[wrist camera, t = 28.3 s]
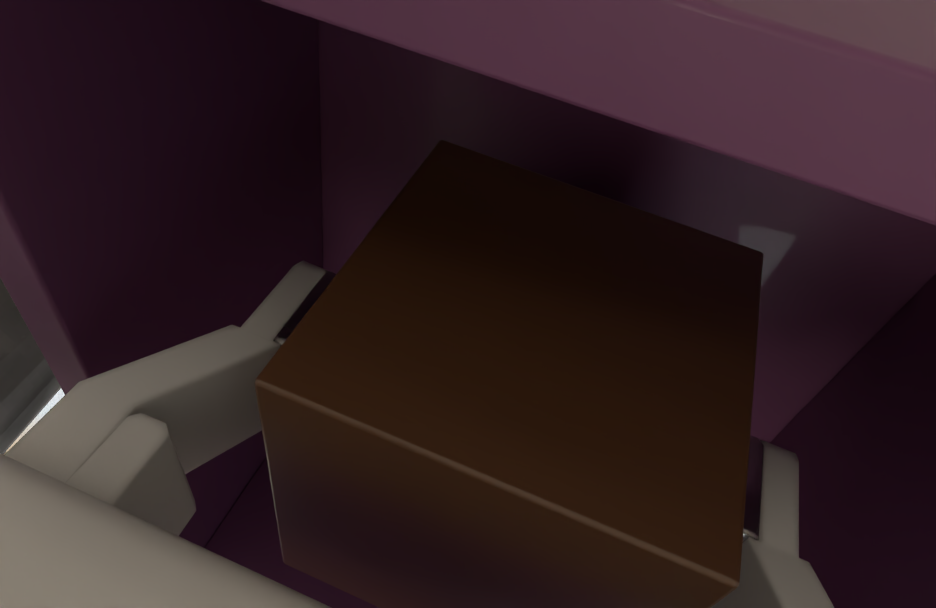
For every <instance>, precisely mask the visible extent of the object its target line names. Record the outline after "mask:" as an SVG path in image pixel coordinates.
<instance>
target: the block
mask: <svg viewBox="0 0 936 608" xmlns="http://www.w3.org/2000/svg"><path fill="white" fill-rule="evenodd" d="M762 267H763V253H762V252H760V251H757V250H755V249H752V248H749V247H746V246H743V245H740V244H738V243H735V242H732V241H729V240H726V239H723V238H721V237H718V236H715V235H712V234H709V233H706V232H703V231H701V230H698V229H695V228H692V227H689V226H686V225H684V224H681V223H678V222H675V221H672V220H669V219H667V218H664V217H661V216H658V215H655V214H652V213H649V212H647V211H644V210H641V209H638V208H635V207H632V206H630V205H627V204H624V203H621V202H618V201H615V200H612V199H610V198H607V197H604V196H601V195H598V194H595V193H593V192H590V191H587V190H584V189H581V188H578V187H576V186H573V185H570V184H567V183H564V182H561V181H558V180H556V179H553V178H550V177H547V176H544V175H541V174H539V173H536V172H533V171H530V170H527V169H524V168H522V167H519V166H516V165H513V164H510V163H507V162H504V161H502V160H499V159H496V158H493V157H490V156H487V155H485V154H482V153H479V152H476V151H473V150H470V149H467V148H465V147H462V146H459V145H456V144H453V143H450V142H448V141H445V140H440V141H439V142H438V143H437V145H436V146H435V147H434V149H433V150H432V151H431V153H430V154H429V155H428V156H427V158H426V159H425V160H424V162H423V163H422V164H421V165H420V167H419V168H418V169H417V171H416V172H415V173H414V175H413V176H412V177H411V178H410V180H409V181H408V182H407V184H406V185H405V186H404V187H403V189H402V190H401V191H400V193H399V194H398V195H397V197H396V198H395V199H394V200H393V202H392V203H391V204H390V206H389V207H388V208H387V210H386V211H385V212H384V213H383V215H382V216H381V217H380V219H379V220H378V221H377V222H376V224H375V225H374V226H373V228H372V229H371V230H370V232H369V233H368V234H367V235H366V237H365V238H364V239H363V241H362V242H361V243H360V244H359V246H358V247H357V248H356V250H355V251H354V252H353V254H352V255H351V256H350V257H349V259H348V260H347V261H346V263H345V264H344V265H343V266H342V268H341V269H340V270H339V272H338V273H337V274H336V276H335V277H334V278H333V279H332V281H331V282H330V283H329V285H328V286H327V287H326V289H325V290H324V291H323V292H322V294H321V295H320V296H319V298H318V299H317V300H316V301H315V303H314V304H313V305H312V307H311V308H310V309H309V311H308V312H307V313H306V314H305V316H304V317H303V318H302V320H301V321H300V322H299V323H298V325H297V326H296V327H295V329H294V330H293V331H292V333H291V334H290V335H289V336H288V338H287V339H286V340H285V342H284V343H283V344H282V346H281V347H280V348H279V349H278V351H277V352H276V353H275V355H274V356H273V357H272V358H271V360H270V361H269V362H268V364H267V365H266V366H265V368H264V369H263V370H262V371H261V373H260V374H259V375H258V377H257V378H256V379H255V383H254V384H255V390H256V397H257V403H258V409H259V415H260V421H261V427H262V434H263V440H264V446H265V452H266V458H267V465H268V471H269V477H270V483H271V489H272V495H273V502H274V508H275V514H276V520H277V526H278V533H279V539H280V545H281V551H282V557H283V562H284V563H285V564H286V565H288V566H290V567H293V568H295V569H297V570H299V571H301V572H303V573H306V574H308V575H310V576H312V577H314V578H316V579H319V580H321V581H323V582H325V583H327V584H329V585H332V586H334V587H336V588H338V589H340V590H342V591H345V592H347V593H349V594H351V595H353V596H355V597H357V598H360V599H362V600H364V601H366V602H368V603H370V604H373V605H375V606H377V607H379V608H711V607H712V606H714V605H715V604H716V603H718V602H719V601H720V600H722V599H723V598H724V597H726V596H727V595H728V594H730V593H731V592H732V591H734V590H735V589H737V587H738V586H739V583H740V570H741V556H742V542H743V529H744V515H745V501H746V487H747V473H748V460H749V446H750V432H751V418H752V404H753V391H754V377H755V363H756V349H757V335H758V322H759V308H760V294H761V280H762Z"/></svg>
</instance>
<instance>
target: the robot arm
mask: <svg viewBox="0 0 936 608" xmlns="http://www.w3.org/2000/svg"><path fill="white" fill-rule="evenodd" d="M335 276H336V274H335V273H333V272H330V271H328V270H325V269H323V268H321V267H318V266H316V265H313V264H311V263H308V262H306V261H301V262H299V263H297V264H296V265H294V266H293V267H292V268H291V269H290V270H289V271H288V273H287V274H286V275H285V276H284V277H283V278H282V280H281V281H280V282H279V283H278V284H277V285H276V287H275V288H274V289H273V290H272V291H271V292H270V294H269V295H268V296H267V297H266V298H265V299H264V301H263V302H262V303H261V304H260V305H259V306H258V308H257V309H256V310H255V311H254V312H253V313H252V315H251V316H250V317H249V318H248V319H247V320H246V321H245V323H244V324H243V325H242V326H241V327H237V326H235V325H229V326H227V327H224V328H221V329H219V330H216V331H213V332H211V333H208V334H205V335H203V336H200V337H197V338H195V339H192V340H189V341H187V342H184V343H181V344H179V345H176V346H173V347H171V348H168V349H165V350H163V351H160V352H157V353H155V354H152V355H149V356H147V357H144V358H141V359H139V360H136V361H133V362H131V363H128V364H125V365H123V366H120V367H117V368H115V369H112V370H109V371H107V372H104V373H101V374H99V375H96V376H93V377H91V378H88V379H85V380H82V381H80V382H78V383H77V384H76V385H75V386H74V387H73V388H72V389H71V390H70V391H69V392H68V393H67V394H66V395H65V396H64V397H63V398H62V399H61V400H60V401H59V402H58V403H57V404H56V405H55V406H54V407H53V408H52V409H51V410H50V411H49V412H48V413H47V414H46V415H45V416H44V417H43V418H42V419H41V420H39V421H38V422H37V423H36V424H35V425H34V426H33V427H32V428H31V429H30V430H29V431H28V432H27V433H26V434H25V435H24V436H23V437H22V438H21V439H20V440H19V441H18V442H17V443H16V444H15V445H14V446H13V447H12V448H11V449H10V450H9V451H8V452H7V453H6V454H5V455H3V454H1V453H0V608H332V607H329V606H327V605H325V604H323V603H321V602H319V601H317V600H314V599H312V598H310V597H308V596H306V595H304V594H301V593H299V592H297V591H295V590H293V589H291V588H289V587H286V586H284V585H282V584H280V583H278V582H276V581H274V580H271V579H269V578H267V577H265V576H263V575H261V574H259V573H256V572H254V571H252V570H250V569H248V568H246V567H244V566H241V565H239V564H237V563H235V562H233V561H231V560H229V559H226V558H224V557H222V556H220V555H218V554H216V553H214V552H211V551H209V550H207V549H205V548H203V547H201V546H199V545H196V544H194V543H192V542H190V541H188V540H186V539H184V538H181V537H179V535H180V533H181V532H182V530H183V529H184V528H185V526H186V525H187V523H188V522H189V520H190V519H191V518H192V516H193V515H194V513H195V512H196V504H195V499H194V497H193V494H192V491H191V489H190V486H189V483H188V481H187V478H186V475H185V474H187V473H188V472H190V471H192V470H194V469H195V468H197V467H199V466H201V465H202V464H204V463H206V462H208V461H209V460H211V459H213V458H215V457H216V456H218V455H220V454H222V453H223V452H225V451H227V450H229V449H230V448H232V447H234V446H235V445H237V444H239V443H241V442H242V441H244V440H246V439H248V438H249V437H251V436H253V435H255V434H256V433H258V432H260V431H262V427H261V421H260V415H259V409H258V403H257V397H256V390H255V384H254V383H255V379H256V378H257V377H258V375H259V374H260V373H261V371H262V370H263V369H264V368H265V366H266V365H267V364H268V362H269V361H270V360H271V358H272V357H273V356H274V355H275V353H276V352H277V351H278V349H279V348H280V347H281V346H282V344H283V343H284V342H285V340H286V339H287V338H288V336H289V335H290V334H291V333H292V331H293V330H294V329H295V327H296V326H297V325H298V323H299V322H300V321H301V320H302V318H303V317H304V316H305V314H306V313H307V312H308V311H309V309H310V308H311V307H312V305H313V304H314V303H315V301H316V300H317V299H318V298H319V296H320V295H321V294H322V292H323V291H324V290H325V289H326V287H327V286H328V285H329V283H330V282H331V281H332V279H333V278H334V277H335ZM711 608H834V606H833V604H832V602H831V600H830V599H829V597H828V595H827V593H826V591H825V590H824V588H823V586H822V584H821V582H820V581H819V579H818V577H817V575H816V573H815V571H814V570H813V568H812V566H811V564H810V562H808V561H805V560H803V559H801V558H799V460H798V458H797V455H796V453H793V452H791V451H788V450H786V449H783V448H781V447H778V446H776V445H773V444H770V443H768V442H765V441H763V440H759V439H758V438H757V437H754V436H751V435H750V446H749V460H748V473H747V487H746V501H745V515H744V529H743V542H742V556H741V570H740V583H739V586H738V587H737V589H735V590H734V591H732V592H731V593H730V594H728V595H727V596H726V597H724V598H723V599H722V600H720V601H719V602H718V603H716V604H715V605H714V606H712V607H711Z"/></svg>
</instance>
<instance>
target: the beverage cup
mask: <svg viewBox="0 0 936 608" xmlns="http://www.w3.org/2000/svg"><path fill="white" fill-rule="evenodd" d="M60 388H61V386H60V385H59V383H58V381H57V379H56V377H55V375H54V374H53V372H52V370H51V368H50V366H49V365H48V363H47V361H46V359H45V357H44V356H43V354H42V352H41V350H40V348H39V347H38V345H37V343H36V341H35V339H34V338H33V336H32V334H31V332H30V330H29V329H28V327H27V325H26V323H25V321H24V320H23V318H22V316H21V314H20V312H19V310H18V309H17V307H16V305H15V303H14V301H13V300H12V298H11V296H10V294H9V292H8V291H7V289H6V287H5V285H4V283H3V282H2V280H1V278H0V453H1V454H4V453H5V452H6V450H7V449H8V448H9V447H10V446H11V445H12V443H13V442H14V441H15V440H16V439H17V438H18V437H19V435H20V434H21V433H22V432H23V431H24V430H25V429H26V427H27V426H28V425H29V424H30V423H31V422H32V421H33V419H34V418H35V417H36V416H37V415H38V414H39V412H40V411H41V410H42V409H43V408H44V407H45V406H46V404H47V403H48V402H49V401H50V400H51V399H52V398H53V396H54V395H55V394H56V393H57V392H58V391H59V390H60Z"/></svg>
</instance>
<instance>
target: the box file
mask: <svg viewBox="0 0 936 608" xmlns="http://www.w3.org/2000/svg"><path fill="white" fill-rule="evenodd" d="M440 140H445V141H448V142H450V143H453V144H456V145H459V146H462V147H465V148H467V149H470V150H473V151H476V152H479V153H482V154H485V155H487V156H490V157H493V158H496V159H499V160H502V161H504V162H507V163H510V164H513V165H516V166H519V167H522V168H524V169H527V170H530V171H533V172H536V173H539V174H541V175H544V176H547V177H550V178H553V179H556V180H558V181H561V182H564V183H567V184H570V185H573V186H576V187H578V188H581V189H584V190H587V191H590V192H593V193H595V194H598V195H601V196H604V197H607V198H610V199H612V200H615V201H618V202H621V203H624V204H627V205H630V206H632V207H635V208H638V209H641V210H644V211H647V212H649V213H652V214H655V215H658V216H661V217H664V218H667V219H669V220H672V221H675V222H678V223H681V224H684V225H686V226H689V227H692V228H695V229H698V230H701V231H703V232H706V233H709V234H712V235H715V236H718V237H721V238H723V239H726V240H729V241H732V242H735V243H738V244H740V245H743V246H746V247H749V248H752V249H755V250H757V251H760V252H762V253H763V267H762V280H761V294H760V308H759V322H758V335H757V349H756V363H755V377H754V391H753V404H752V418H751V432H750V435H751V436H754V437H757V438H758V439H759V440H763V441H765V442H768V443H770V444H773V445H776V446H778V447H781V448H783V449H786V450H788V451H791V452H793V453H796V455H797V458H798V460H799V558H801V559H803V560H805V561H808V562H810V564H811V566H812V568H813V570H814V571H815V573H816V575H817V577H818V579H819V581H820V582H821V584H822V586H823V588H824V590H825V591H826V593H827V595H828V597H829V599H830V600H831V602H832V604H833V606H834V608H936V0H0V278H1V280H2V282H3V283H4V285H5V287H6V289H7V291H8V292H9V294H10V296H11V298H12V300H13V301H14V303H15V305H16V307H17V309H18V310H19V312H20V314H21V316H22V318H23V320H24V321H25V323H26V325H27V327H28V329H29V330H30V332H31V334H32V336H33V338H34V339H35V341H36V343H37V345H38V347H39V348H40V350H41V352H42V354H43V356H44V357H45V359H46V361H47V363H48V365H49V366H50V368H51V370H52V372H53V374H54V375H55V377H56V379H57V381H58V383H59V385H60V386H61V388H62V390H63V392H64V394H65V395H66V394H67V393H68V392H69V391H70V390H71V389H72V388H73V387H74V386H75V385H76V384H77V383H78V382H80V381H82V380H85V379H88V378H91V377H93V376H96V375H99V374H101V373H104V372H107V371H109V370H112V369H115V368H117V367H120V366H123V365H125V364H128V363H131V362H133V361H136V360H139V359H141V358H144V357H147V356H149V355H152V354H155V353H157V352H160V351H163V350H165V349H168V348H171V347H173V346H176V345H179V344H181V343H184V342H187V341H189V340H192V339H195V338H197V337H200V336H203V335H205V334H208V333H211V332H213V331H216V330H219V329H221V328H224V327H227V326H229V325H235V326H237V327H241V326H242V325H243V324H244V323H245V321H246V320H247V319H248V318H249V317H250V316H251V315H252V313H253V312H254V311H255V310H256V309H257V308H258V306H259V305H260V304H261V303H262V302H263V301H264V299H265V298H266V297H267V296H268V295H269V294H270V292H271V291H272V290H273V289H274V288H275V287H276V285H277V284H278V283H279V282H280V281H281V280H282V278H283V277H284V276H285V275H286V274H287V273H288V271H289V270H290V269H291V268H292V267H293V266H294V265H296V264H297V263H299V262H301V261H306V262H308V263H311V264H313V265H316V266H318V267H321V268H323V269H325V270H328V271H330V272H333V273H335V274H337V273H338V272H339V270H340V269H341V268H342V266H343V265H344V264H345V263H346V261H347V260H348V259H349V257H350V256H351V255H352V254H353V252H354V251H355V250H356V248H357V247H358V246H359V244H360V243H361V242H362V241H363V239H364V238H365V237H366V235H367V234H368V233H369V232H370V230H371V229H372V228H373V226H374V225H375V224H376V222H377V221H378V220H379V219H380V217H381V216H382V215H383V213H384V212H385V211H386V210H387V208H388V207H389V206H390V204H391V203H392V202H393V200H394V199H395V198H396V197H397V195H398V194H399V193H400V191H401V190H402V189H403V187H404V186H405V185H406V184H407V182H408V181H409V180H410V178H411V177H412V176H413V175H414V173H415V172H416V171H417V169H418V168H419V167H420V165H421V164H422V163H423V162H424V160H425V159H426V158H427V156H428V155H429V154H430V153H431V151H432V150H433V149H434V147H435V146H436V145H437V143H438V142H439V141H440ZM185 475H186V478H187V481H188V483H189V486H190V489H191V491H192V494H193V497H194V499H195V504H196V512H195V513H194V515H193V516H192V518H191V519H190V520H189V522H188V523H187V525H186V526H185V528H184V529H183V530H182V532H181V533H180V535H179V537H181V538H184V539H186V540H188V541H190V542H192V543H194V544H196V545H199V546H201V547H203V548H205V549H207V550H209V551H211V552H214V553H216V554H218V555H220V556H222V557H224V558H226V559H229V560H231V561H233V562H235V563H237V564H239V565H241V566H244V567H246V568H248V569H250V570H252V571H254V572H256V573H259V574H261V575H263V576H265V577H267V578H269V579H271V580H274V581H276V582H278V583H280V584H282V585H284V586H286V587H289V588H291V589H293V590H295V591H297V592H299V593H301V594H304V595H306V596H308V597H310V598H312V599H314V600H317V601H319V602H321V603H323V604H325V605H327V606H329V607H332V608H379V607H377V606H375V605H373V604H370V603H368V602H366V601H364V600H362V599H360V598H357V597H355V596H353V595H351V594H349V593H347V592H345V591H342V590H340V589H338V588H336V587H334V586H332V585H329V584H327V583H325V582H323V581H321V580H319V579H316V578H314V577H312V576H310V575H308V574H306V573H303V572H301V571H299V570H297V569H295V568H293V567H290V566H288V565H286V564H285V563H284V562H283V557H282V551H281V545H280V539H279V533H278V526H277V520H276V514H275V508H274V502H273V495H272V489H271V483H270V477H269V471H268V465H267V458H266V452H265V446H264V440H263V434H262V431H260V432H258V433H256V434H255V435H253V436H251V437H249V438H248V439H246V440H244V441H242V442H241V443H239V444H237V445H235V446H234V447H232V448H230V449H229V450H227V451H225V452H223V453H222V454H220V455H218V456H216V457H215V458H213V459H211V460H209V461H208V462H206V463H204V464H202V465H201V466H199V467H197V468H195V469H194V470H192V471H190V472H188V473H187V474H185Z"/></svg>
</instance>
